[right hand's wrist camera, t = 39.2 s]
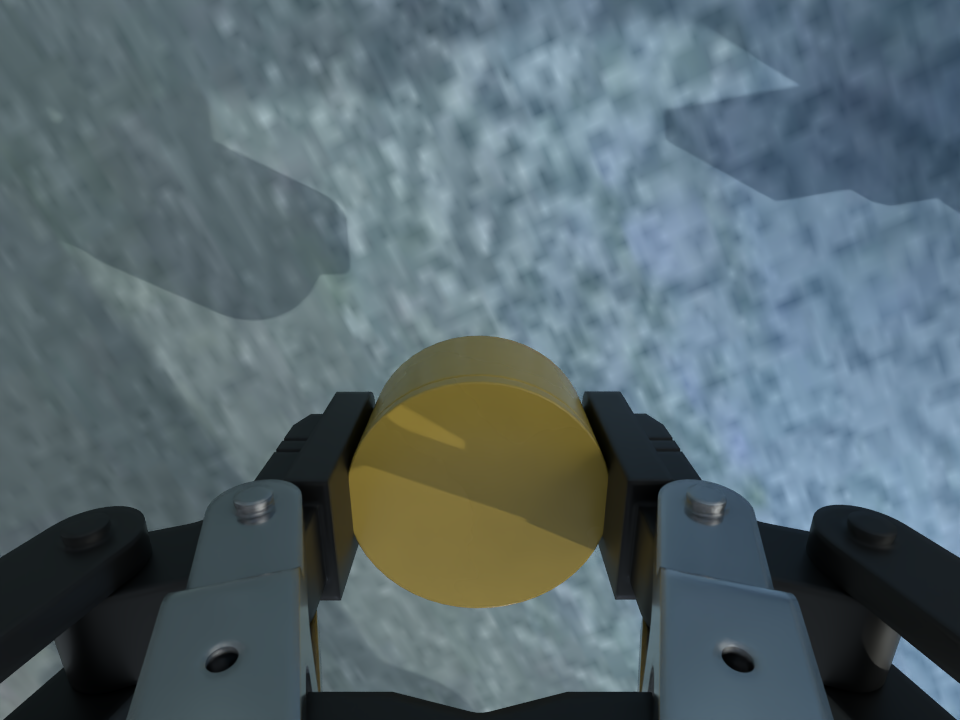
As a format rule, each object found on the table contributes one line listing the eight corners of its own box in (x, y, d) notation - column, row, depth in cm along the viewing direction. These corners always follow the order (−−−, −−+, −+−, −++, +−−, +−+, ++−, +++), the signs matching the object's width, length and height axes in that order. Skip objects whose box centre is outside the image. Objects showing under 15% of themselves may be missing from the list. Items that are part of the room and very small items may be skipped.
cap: (354, 346, 11) (321, 395, 9) (581, 324, 11) (609, 368, 9) (390, 532, 13) (369, 618, 10) (588, 517, 12) (614, 598, 10)
